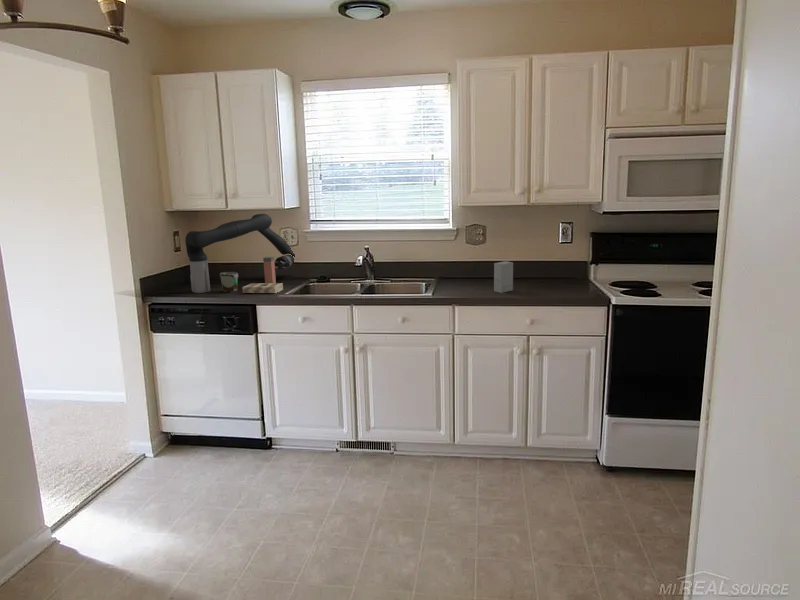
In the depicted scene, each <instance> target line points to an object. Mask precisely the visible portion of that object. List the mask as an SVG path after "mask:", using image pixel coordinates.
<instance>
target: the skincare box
mask: <svg viewBox="0 0 800 600" xmlns="http://www.w3.org/2000/svg"><path fill="white" fill-rule="evenodd" d="M493 266H494V268H493V291H494V292H497V293H501V294H503V293H506V292H513V291H514V262H512V261H508V260H507V261H506V260H504V261H500V262H494V263H493Z"/></svg>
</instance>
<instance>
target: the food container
mask: <svg viewBox="0 0 800 600" xmlns="http://www.w3.org/2000/svg"><path fill="white" fill-rule="evenodd" d="M219 278H220V281H221V289H222V292H227V291H230V292H229V293H237V292H238V289H239V288H238V286H239V285H238V278H239V273H238V272H236V271H224V272H220V273H219ZM236 291H237V292H236Z"/></svg>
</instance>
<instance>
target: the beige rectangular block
mask: <svg viewBox="0 0 800 600" xmlns="http://www.w3.org/2000/svg"><path fill="white" fill-rule="evenodd" d="M283 284H284V283H283V282H281V283H279V282H276V283H265V282H264V283H263V282H262V283H261V282H259V283H256V282H253V283H252V282H251V283H249V284H247V285H244V286H242V294H243V293H276V294H277V292H278V293H279V292H281V291H284V285H283Z"/></svg>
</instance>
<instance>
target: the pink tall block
mask: <svg viewBox="0 0 800 600" xmlns="http://www.w3.org/2000/svg"><path fill="white" fill-rule="evenodd" d="M262 260H263V261H262V262H263V272H264V273H263V274H264V283H277V281H276V268H275V264H274V261H275V256H265V257H263V259H262Z"/></svg>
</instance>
